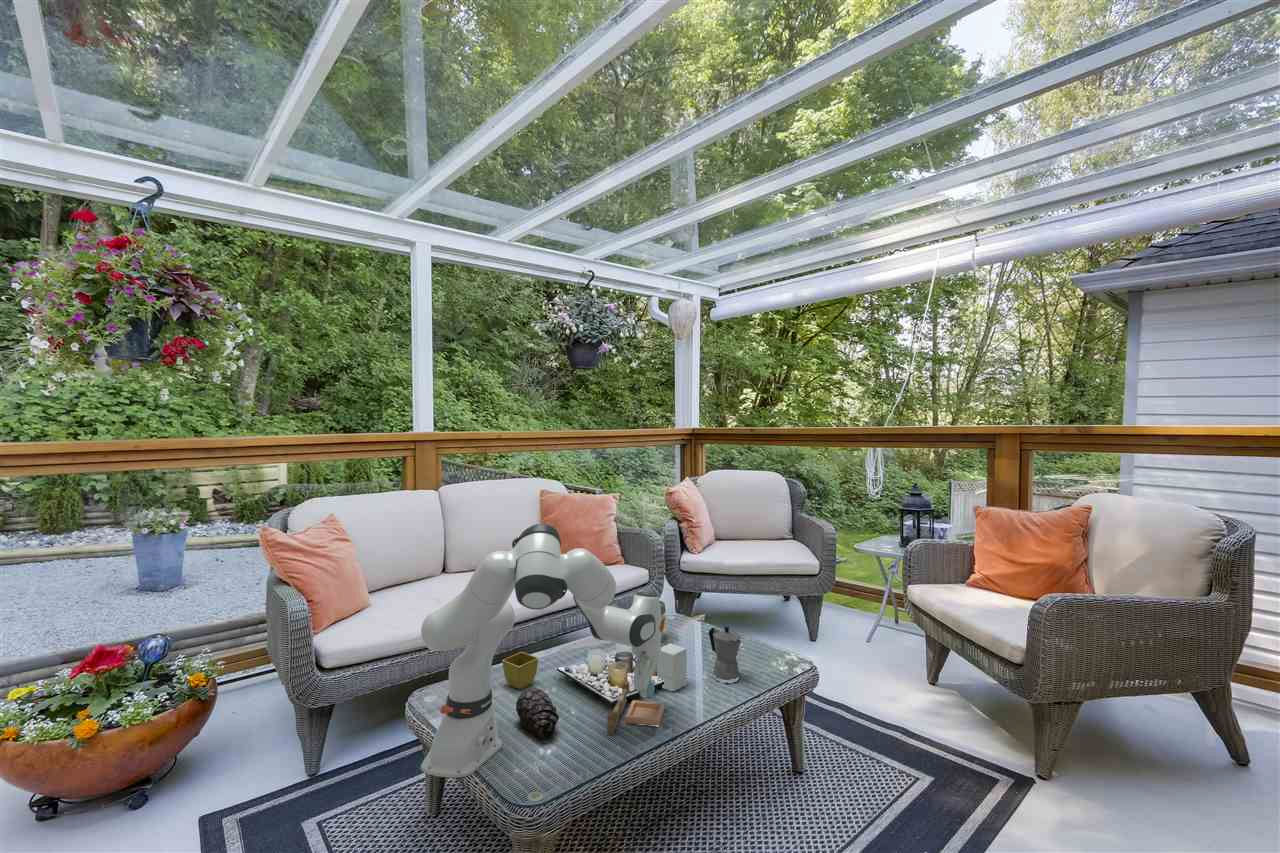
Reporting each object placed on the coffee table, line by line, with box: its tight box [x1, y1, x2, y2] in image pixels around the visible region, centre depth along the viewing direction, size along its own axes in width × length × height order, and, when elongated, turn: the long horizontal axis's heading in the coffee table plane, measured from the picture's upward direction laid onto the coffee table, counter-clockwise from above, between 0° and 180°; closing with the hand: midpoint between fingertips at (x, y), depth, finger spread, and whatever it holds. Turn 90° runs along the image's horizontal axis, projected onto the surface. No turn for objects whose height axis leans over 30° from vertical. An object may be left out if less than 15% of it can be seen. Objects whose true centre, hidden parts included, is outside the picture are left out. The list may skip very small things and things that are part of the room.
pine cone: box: [515, 687, 560, 744], centre depth 172 cm, size 10×18×10 cm, turn 39°
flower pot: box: [501, 651, 539, 690], centre depth 199 cm, size 9×9×9 cm
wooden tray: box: [625, 699, 665, 725], centre depth 179 cm, size 10×10×2 cm
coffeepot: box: [708, 626, 742, 680], centre depth 206 cm, size 15×9×18 cm, turn 36°
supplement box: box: [656, 643, 687, 692], centre depth 199 cm, size 7×7×13 cm
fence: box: [606, 681, 630, 736], centre depth 179 cm, size 22×2×6 cm, turn 169°
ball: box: [637, 680, 655, 699], centre depth 178 cm, size 5×5×5 cm
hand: (646, 691), depth 178 cm, fingers closed on ball, 5 cm apart
